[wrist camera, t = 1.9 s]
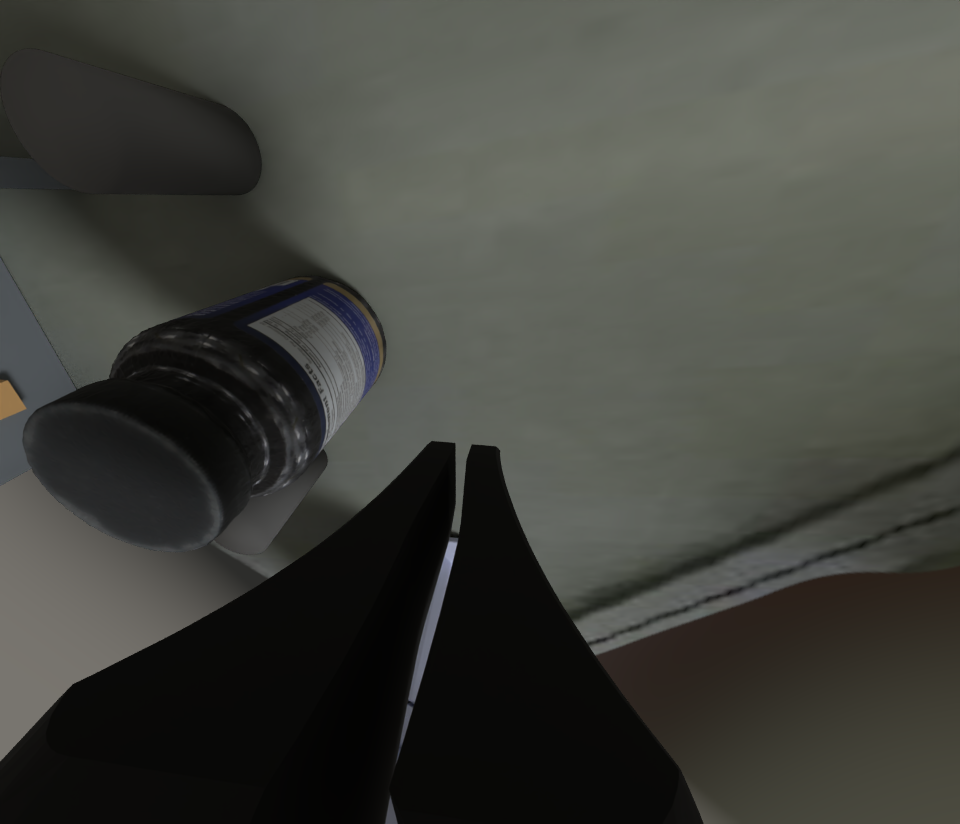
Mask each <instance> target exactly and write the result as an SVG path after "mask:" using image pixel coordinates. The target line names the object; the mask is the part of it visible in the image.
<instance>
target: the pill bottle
mask: <svg viewBox="0 0 960 824" xmlns="http://www.w3.org/2000/svg"><path fill="white" fill-rule="evenodd" d="M385 358H386V340H385V336H384V332H383V328H382V325H381V323H380V321H379V319H378V317H377V316H376V314H375V312H374V311H373V310H372V308H371V307H370V306H369V305H368V303H367V302H366V301H365V300H364V299H363V298H362V297H361V296H360V295H359V294H357V293H356V292H354V291H353V290H352V289H350V288H348V287H347V286H345V285H343V284H341V283H337V282H335V281H332V280H329V279H326V278H323V277H320V276H298V277H294V278H291V279H288V280H285V281H282V282H279V283H276V284H273V285H270V286H267V287H265V288H262V289H259V290H256V291H253V292H250V293H247V294H244V295H242V296H239V297H236V298H233V299H230V300H228V301H225V302H222V303H219V304H216V305H213V306H211V307H208V308H205V309H202V310H199V311H196V312H194V313H191V314H188V315H185V316H182V317H179V318H176V319H173V320H170V321H168V322H165V323H162V324H159V325H156V326H154V327H152V328H149V329H147V330H145V331H142V332H141V333H140V334H139V335H137V336H135V337H133V338H132V339H131V340H130V341H129V342H128V343H126V344H125V345H124V347H123V349H122V350H121V351H120V353H119V354H118V356H117V358H116V359H115V361H114V363H113V364H112V369H111V373H110V375H109V379H107V380H103V381H99V382H95V383H92V384H89V385H87V386H84V387H82V388H80V389H78V390H76V391H74V392H71V393H69V394H67V395H65V396H63V397H61V398H59V399H57V400H55V401H53V402H50V403H48V404H46V405H44V406H42V407H40V408H38V409H37V410H35V411H34V413H33V414H32V415H31V416H30V417H29V418H28V420H27V422H26V424H25V427H24V430H23V439H22V443H23V447H24V451H25V453H26V457H27V462H28V463H29V465H30V466H31V467H32V470H33V473H34V474H35V475H36V477H37V478H38V479H39V480H40V482H41V483H42V485H44V486H45V488H46V489H47V490H48V491H49V492H50V494H51V495H52V496H54V498H55V499H56V500H57V501H58V502H60V503H61V504H63V505H64V506H65V507H66V509H68V510H69V511H71V512H73V514H74V515H76V516H77V517H79V518H80V519H82V520H83V521H85V522H86V523H87V524H88V525H90V526H92V527H94V528H96V529H98V530H99V531H101V532H104V533H105V534H107V535H109V536H112V537H114V538H116V539H118V540H121V541H124V542H126V543H129V544H132V545H135V546H139V547H143V548H146V549H149V550H154V551H157V550H159V551H166V552H184V551H191V550H194V549H197V548H201V547H203V546H205V545H208V544H209V543H211V542H212V541H213V540H214V539H215V538H217V537H218V536H219V535H220V534H221V533H222V532H223V531H224V530H225V529H226V528H227V527H228V525H229V524H230V523H231V522H232V520H233V519H234V518H235V517H237V516H238V515H239V514H240V513H241V512H242V511H243V510H244V508H245V507H246V506H247V503H248V502H249V499H250V498H253V497H261V496H265V495H268V494H271V493H274V492H276V491H279V490H282V489H283V488H285V487H286V486H288V485H290V484H292V483H293V482H295V481H296V480H297V479H298V478H299V477H300V476H301V475H303V473H304V472H305V471H306V470H307V468H308V467H309V466H310V464H311V463H312V462H313V460H314V459H315V458H316V457H317V455H318V454H319V453H320V451H321V450H322V449H323V448H324V446H325V445H326V444H327V442H328V441H329V440H330V439H331V438H332V436H333V435H334V434H335V433H336V431H337V430H338V429H339V427H340V426H341V425H342V424H343V422H344V421H345V420H346V419H347V417H348V416H349V415H350V414H351V412H352V411H353V410H354V408H355V407H356V406H357V405H358V403H359V402H360V401H361V399H362V398H363V397H364V396H365V394H366V393H367V392H368V391H369V389H370V388H371V387H372V386H373V385H374V384H375V382H376V381H377V379H378V378H379V376H380V374H381V372H382V370H383V368H384V364H385Z"/></svg>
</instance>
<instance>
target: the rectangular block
mask: <svg viewBox="0 0 960 824" xmlns="http://www.w3.org/2000/svg"><path fill="white" fill-rule="evenodd" d="M0 188H20V189H71V188H69V187H67V186H65V185H63V184H62V183H60V182H59V181H57V180H56V179H54V178H53V177H52V176H50V175H49V174H48V173H47V172H46V171H45V170H44V169H42V168H41V167H40V166H39V165H38V164H37V162H36V161H35V160H34V159H29V158H16V157H3V156H0ZM74 391H76V388H75V386H74V384H73V383H72V381H71V379H70V377H69V376H68V374H67V372H66V370H65V369H64V367H63V365H62V363H61V362H60V360H59V358H58V357H57V355H56V353H55V351H54V350H53V348H52V346H51V344H50V343H49V341H48V339H47V337H46V336H45V334H44V332H43V330H42V329H41V327H40V325H39V324H38V322H37V320H36V318H35V317H34V315H33V313H32V311H31V310H30V308H29V306H28V304H27V303H26V301H25V299H24V297H23V296H22V294H21V292H20V291H19V289H18V287H17V285H16V284H15V282H14V280H13V278H12V277H11V275H10V273H9V271H8V270H7V268H6V266H5V264H4V263H3V261H2V259H1V258H0V485H3V484H4V483H6V482H8V481H10V480H12V479H13V478H15V477H17V476H19V475H21V474H23V473H24V472H26V471H28V470H30V469H32V467H31V466H30V465H29V463H28V462H27V457H26V453H25V451H24V447H23V443H22V439H23V430H24V427H25V424H26V422H27V420H28V418H29V417H30V416H31V415H32V414H33V413H34V411H35V410H37V409H38V408H40V407H42V406H44V405H46V404H48V403H50V402H53V401H55V400H57V399H59V398H61V397H63V396H65V395H67V394H69V393H71V392H74Z"/></svg>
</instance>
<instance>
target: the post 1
mask: <svg viewBox="0 0 960 824" xmlns="http://www.w3.org/2000/svg"><path fill="white" fill-rule="evenodd" d="M0 89H1V96H2V101H3V105H4V109H5V112H6V115H7V117H8V120H9V122H10V124H11V126H12V128H13V130H14V132H15V134H16V136H17V137H18V139H19V140H20V142H21V144H22V145H23V146H24V148H25V149H26V151H27V152H28V153H29V154H30V156H31V157H32V158H33V159H34V160H35V161H36V162H37V164H38V165H39V166H40V167H41V168H42V169H44V170H45V171H46V172H47V173H48V174H49V175H50V176H52V177H53V178H54V179H56V180H57V181H59V182H60V183H62V184H63V185H65V186H67V187H69V188H71V189H73V190H76V191H79V192H83V193H88V194H163V195H241V194H245V193H247V192H249V191H251V190H252V189H253V188H254V187H255V185H256V184H257V182H258V180H259V177H260V174H261V155H260V150H259V146H258V144H257V141H256V139H255V137H254V135H253V133H252V131H251V130H250V128H249V127H248V125H247V124H246V123H245V121H244V120H243V119H242V118H241V117H240V116H239V115H238V114H236V113H235V112H234V111H232V110H231V109H229V108H227V107H225V106H223V105H220V104H217V103H214V102H210V101H207V100H204V99H200V98H197V97H194V96H191V95H187V94H184V93H181V92H177V91H174V90H171V89H168V88H164V87H161V86H158V85H154V84H151V83H148V82H145V81H141V80H138V79H135V78H131V77H128V76H125V75H122V74H118V73H115V72H112V71H108V70H105V69H102V68H99V67H95V66H92V65H89V64H85V63H82V62H79V61H76V60H72V59H69V58H66V57H62V56H59V55H56V54H53V53H49V52H46V51H42V50H39V49H22V50H19V51H16V52H15V53H13V54H12V55H11V56H10V57H9V58H8V59H7V60H6V62H5V64H4V65H3V69H2V72H1V79H0Z"/></svg>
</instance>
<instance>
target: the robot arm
mask: <svg viewBox="0 0 960 824" xmlns="http://www.w3.org/2000/svg"><path fill="white" fill-rule="evenodd" d="M455 504H456V462H455V443H449V442H437V441H431V442H430V443H429V444H428V445H427V446H426V447H425V448H424V449H423V450H422V451H421V452H420V453H419V454H418V456H417V457H416V458H415V459H414V460H413V461H412V462H411V463H410V464H409V465H408V466H407V467H406V468H405V469H404V470H403V471H402V472H401V474H400V475H398V476H397V477H396V478H395V479H394V480H393V481H392V482H391V483H390V484H389V485H388V486H387V487H386V488H385V489H384V490H383V491H382V492H381V493H380V494H379V495H378V496H377V497H376V498H375V499H373V500H372V501H371V502H370V503H369V504H368V505H367V506H366V507H364V508H363V509H362V510H361V511H360V512H359V513H358V514H356V515H355V516H354V517H353V518H352V519H351V520H350V521H348V522H347V523H346V524H345V525H343V526H342V527H341V528H340V529H338V530H337V531H336V532H335V533H333V534H332V535H331V536H329V537H328V538H327V539H325V540H324V541H323V542H321V543H320V544H319V545H317V546H316V547H315V548H313V549H312V550H311V551H309V552H308V553H306V554H305V555H304V556H302V557H301V558H299V559H298V560H296V561H295V562H293V563H292V564H290V565H289V566H287V567H286V568H284V569H283V570H281V571H280V572H278V573H277V574H275V575H274V576H272V577H270V578H269V579H267V580H266V581H264V582H263V583H261V584H260V585H258V586H257V587H255V588H254V589H252V590H250V591H248V592H247V593H245V594H243V595H242V596H240V597H238V598H237V599H235V600H233V601H232V602H230V603H228V604H226V605H225V606H223V607H221V608H220V609H218V610H216V611H214V612H212V613H210V614H209V615H207V616H205V617H203V618H202V619H200V620H198V621H196V622H194V623H193V624H191V625H189V626H187V627H185V628H183V629H182V630H180V631H178V632H176V633H174V634H172V635H170V636H169V637H167V638H165V639H163V640H161V641H159V642H157V643H155V644H153V645H151V646H149V647H147V648H145V649H143V650H141V651H139V652H137V653H135V654H133V655H131V656H129V657H127V658H125V659H123V660H121V661H119V662H117V663H115V664H113V665H111V666H109V667H107V668H105V669H103V670H101V671H100V672H97V673H95V674H93V675H91V676H89V677H87V678H85V679H83V680H81V681H79V682H77V683H74V684H73V685H72V686H71V687H70V688H69V689H68V690H67V691H66V692H65V693H64V694H63V695H62V696H61V697H60V698H59V699H58V700H57V701H56V702H55V703H54V705H53V706H52V707H51V708H50V709H49V710H48V711H47V712H46V713H45V714H44V715H43V716H42V717H41V718H40V720H39V721H38V722H37V723H36V724H35V725H34V726H33V727H32V728H31V729H30V730H29V731H28V733H26V735H25V736H24V737H23V738H22V739H21V740H20V741H19V742H18V743H17V744H16V745H15V746H14V747H13V749H12V750H11V751H10V752H9V753H8V754H7V755H6V756H5V757H4V758H3V759H2V760H1V761H0V824H703V821H702V819H701V816H700V813H699V811H698V809H697V806H696V804H695V801H694V799H693V797H692V794H691V792H690V790H689V788H688V785H687V783H686V781H685V778H684V776H683V774H682V772H681V770H680V768H679V767H678V765H677V764H676V763H675V761H674V760H673V759H672V758H671V756H670V755H669V754H668V752H667V751H666V750H665V749H664V747H663V746H662V745H661V743H660V742H659V741H658V740H657V738H656V737H655V736H654V735H653V734H652V732H651V731H650V730H649V728H648V727H647V726H646V725H645V723H644V722H643V720H642V719H641V718H640V716H639V715H638V714H637V712H636V711H635V710H634V709H633V707H632V706H631V705H630V703H629V702H628V701H627V699H626V698H625V697H624V696H623V694H622V693H621V691H620V690H619V688H618V687H617V686H616V685H615V683H614V682H613V680H612V679H611V677H610V676H609V674H608V673H607V672H606V670H605V669H604V668H603V666H602V665H601V663H600V662H599V661H598V659H597V658H596V656H595V655H594V653H593V652H592V650H591V649H590V647H589V646H588V644H587V643H586V641H585V640H584V638H583V636H582V635H581V633H580V632H579V630H578V629H577V627H576V626H575V624H574V623H573V621H572V619H571V618H570V616H569V615H568V613H567V612H566V610H565V609H564V607H563V606H562V604H561V602H560V601H559V599H558V597H557V595H556V594H555V592H554V590H553V588H552V587H551V585H550V583H549V582H548V580H547V578H546V576H545V574H544V572H543V571H542V569H541V567H540V565H539V563H538V561H537V559H536V557H535V555H534V553H533V551H532V549H531V547H530V545H529V543H528V541H527V538H526V536H525V534H524V532H523V529H522V527H521V525H520V522H519V520H518V517H517V515H516V512H515V510H514V507H513V504H512V501H511V498H510V496H509V493H508V490H507V487H506V483H505V479H504V476H503V472H502V467H501V461H500V450H499V449H498V448H497V447H496V446H485V445H473V444H472V446H471V448H470V451H469V454H468V457H467V461H466V472H465V483H464V495H463V506H462V517H461V525H460V532H459V538H453V537H450V533H451V528H452V522H453V516H454V510H455Z"/></svg>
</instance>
